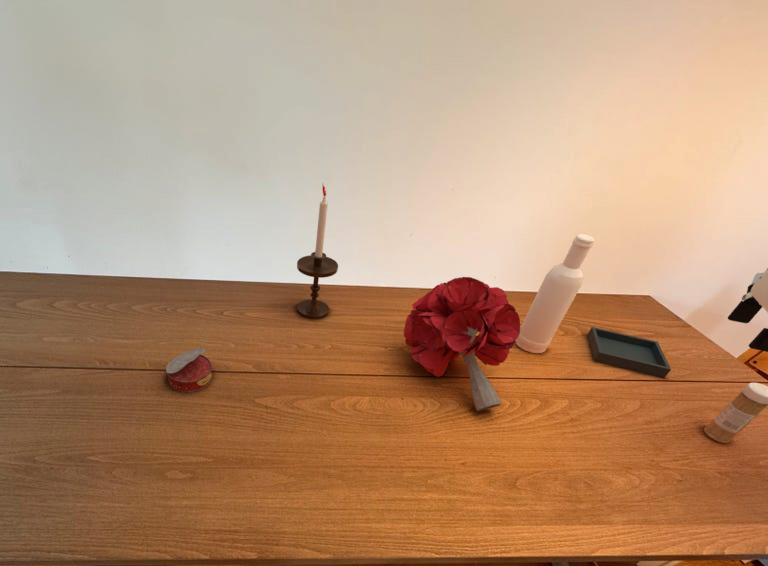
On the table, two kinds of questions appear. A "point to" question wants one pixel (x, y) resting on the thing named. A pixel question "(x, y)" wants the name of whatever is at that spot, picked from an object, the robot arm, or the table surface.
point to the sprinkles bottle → (738, 413)
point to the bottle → (554, 298)
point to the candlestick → (317, 269)
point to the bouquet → (463, 331)
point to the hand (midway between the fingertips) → (747, 334)
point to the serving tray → (628, 352)
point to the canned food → (189, 371)
